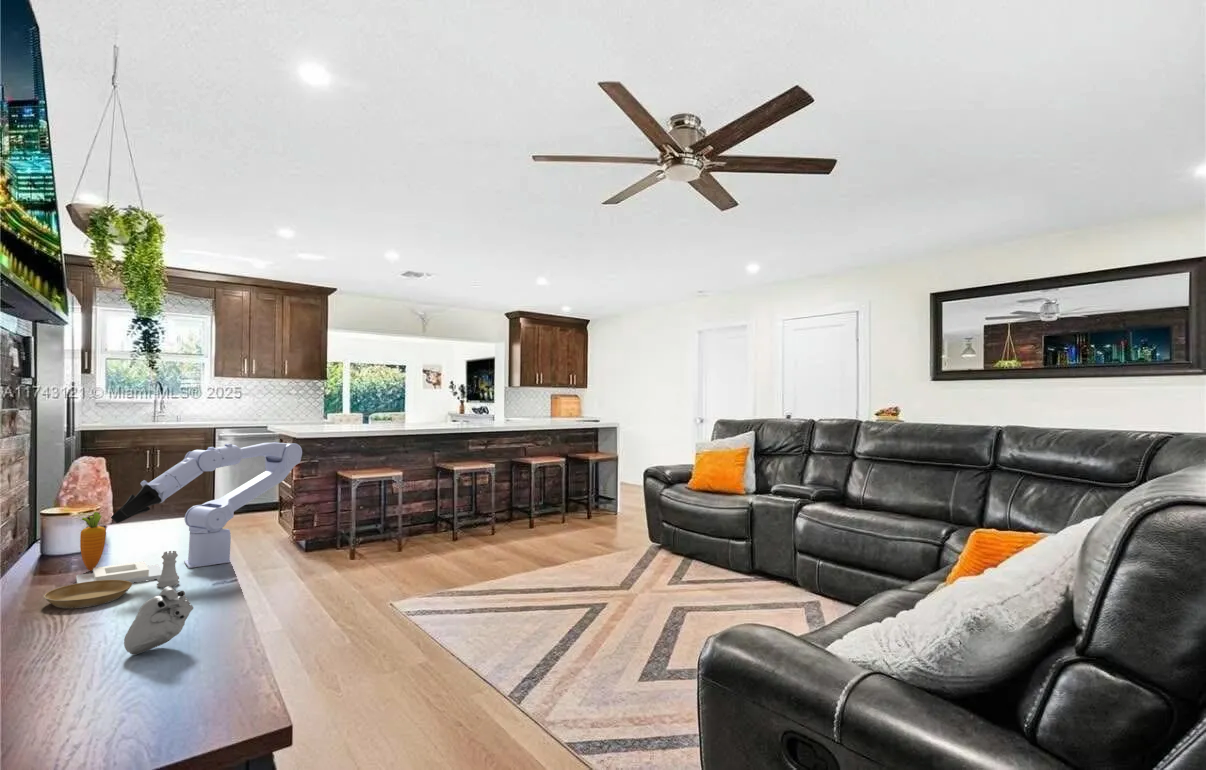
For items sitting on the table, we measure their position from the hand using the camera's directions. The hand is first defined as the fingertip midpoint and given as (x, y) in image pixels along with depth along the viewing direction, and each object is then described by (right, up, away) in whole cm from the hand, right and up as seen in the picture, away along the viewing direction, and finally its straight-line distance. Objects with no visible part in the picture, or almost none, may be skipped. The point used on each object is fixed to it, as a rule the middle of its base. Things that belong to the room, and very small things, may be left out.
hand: (119, 516), depth 139 cm
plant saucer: (+3, -16, -12) cm, 20 cm away
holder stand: (-3, -16, +3) cm, 17 cm away
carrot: (-15, -16, +9) cm, 24 cm away
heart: (+37, -16, -36) cm, 54 cm away
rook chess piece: (+12, -17, 0) cm, 21 cm away
